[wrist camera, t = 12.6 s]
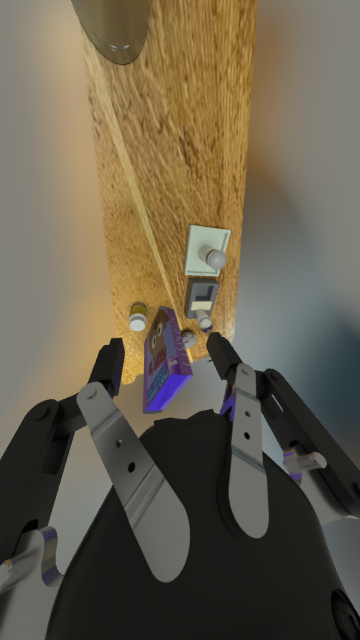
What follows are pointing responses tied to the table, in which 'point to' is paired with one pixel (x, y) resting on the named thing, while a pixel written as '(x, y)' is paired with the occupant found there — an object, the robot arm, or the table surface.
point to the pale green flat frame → (196, 240)
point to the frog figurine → (189, 339)
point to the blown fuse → (212, 257)
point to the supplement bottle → (138, 317)
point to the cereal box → (164, 362)
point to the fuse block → (201, 300)
